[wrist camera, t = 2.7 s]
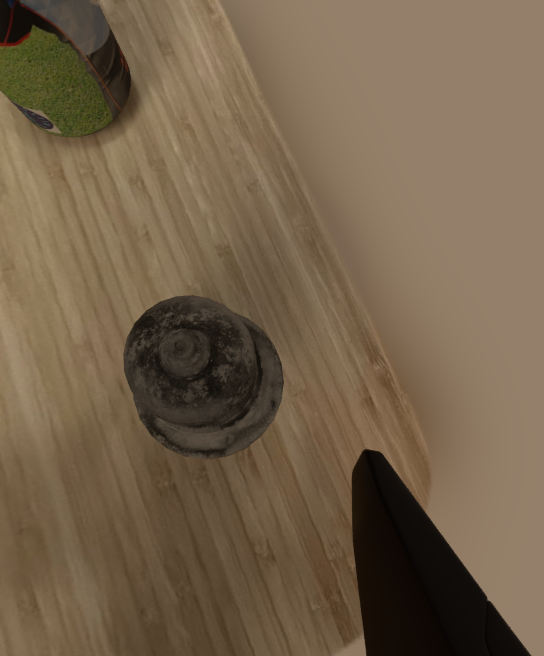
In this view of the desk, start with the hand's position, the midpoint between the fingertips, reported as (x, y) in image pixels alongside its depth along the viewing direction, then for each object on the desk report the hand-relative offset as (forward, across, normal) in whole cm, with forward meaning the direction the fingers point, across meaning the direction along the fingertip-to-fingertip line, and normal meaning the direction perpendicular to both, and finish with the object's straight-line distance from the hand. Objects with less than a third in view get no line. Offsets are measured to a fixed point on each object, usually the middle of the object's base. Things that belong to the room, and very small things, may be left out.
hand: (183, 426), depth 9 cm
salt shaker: (+7, 0, +5) cm, 9 cm away
